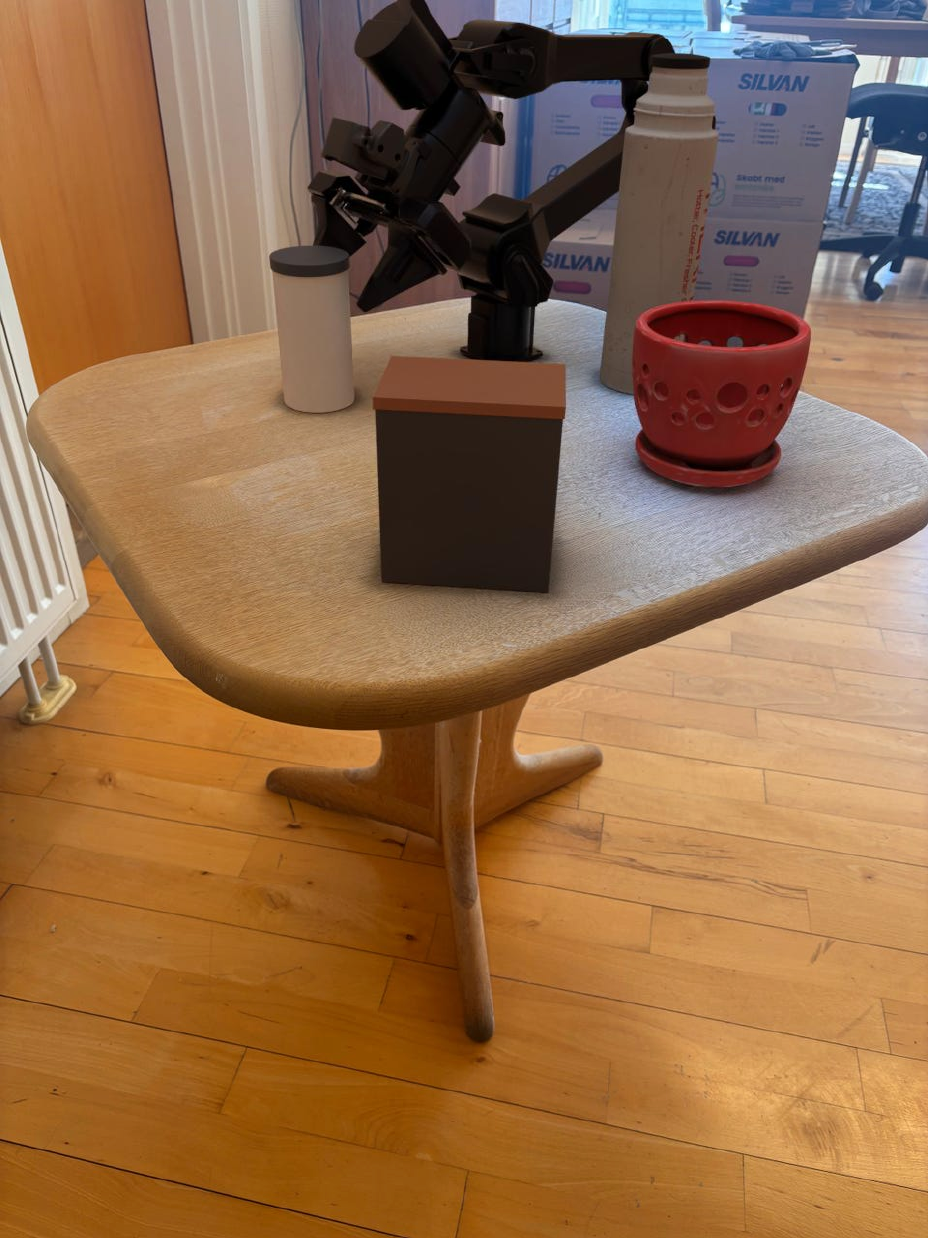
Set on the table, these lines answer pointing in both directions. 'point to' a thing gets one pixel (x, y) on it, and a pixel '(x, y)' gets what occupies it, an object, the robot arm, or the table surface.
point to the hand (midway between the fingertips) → (332, 296)
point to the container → (314, 327)
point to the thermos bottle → (659, 205)
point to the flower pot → (715, 389)
